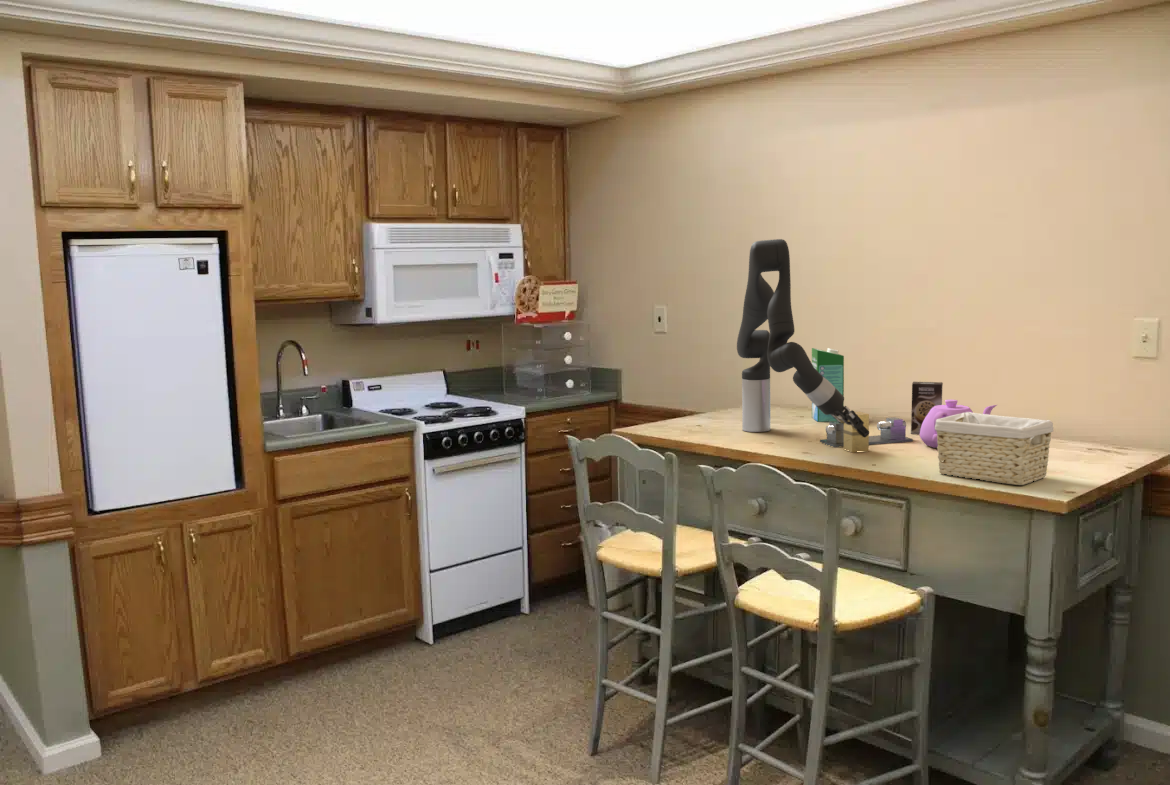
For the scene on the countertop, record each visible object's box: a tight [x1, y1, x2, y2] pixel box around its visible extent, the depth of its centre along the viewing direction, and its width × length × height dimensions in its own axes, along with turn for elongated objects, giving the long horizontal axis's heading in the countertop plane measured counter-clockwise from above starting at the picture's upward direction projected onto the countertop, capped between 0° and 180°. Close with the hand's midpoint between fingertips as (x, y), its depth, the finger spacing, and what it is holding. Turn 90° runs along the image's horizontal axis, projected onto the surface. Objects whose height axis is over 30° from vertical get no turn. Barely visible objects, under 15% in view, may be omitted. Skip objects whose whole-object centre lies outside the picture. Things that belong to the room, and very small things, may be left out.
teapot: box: [919, 399, 998, 449], centre depth 278 cm, size 22×22×14 cm
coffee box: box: [910, 381, 944, 435], centre depth 302 cm, size 9×6×16 cm
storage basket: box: [935, 412, 1054, 486], centre depth 241 cm, size 24×16×15 cm
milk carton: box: [811, 347, 845, 423], centre depth 332 cm, size 9×9×25 cm
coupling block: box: [843, 411, 870, 453], centre depth 278 cm, size 5×5×11 cm
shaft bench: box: [819, 416, 914, 448], centre depth 291 cm, size 26×9×7 cm, turn 102°
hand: (861, 433), depth 278 cm, fingers closed on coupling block, 5 cm apart
